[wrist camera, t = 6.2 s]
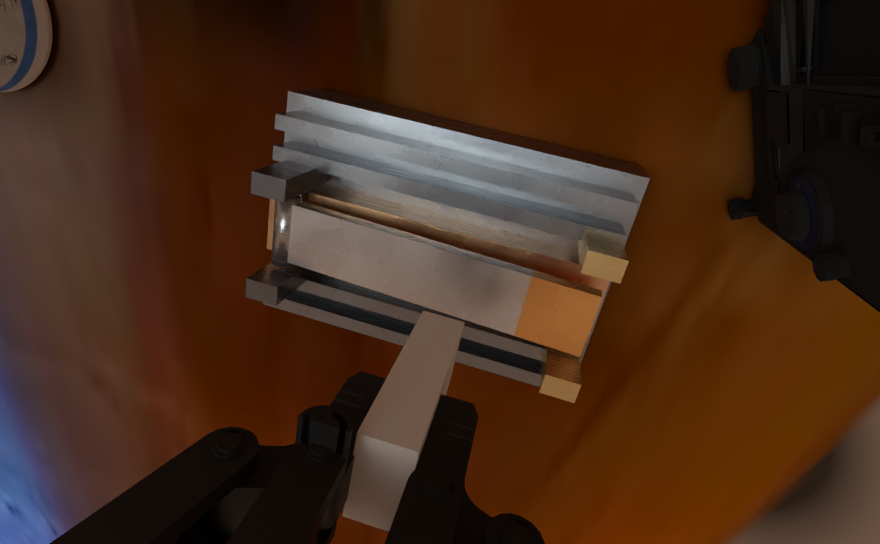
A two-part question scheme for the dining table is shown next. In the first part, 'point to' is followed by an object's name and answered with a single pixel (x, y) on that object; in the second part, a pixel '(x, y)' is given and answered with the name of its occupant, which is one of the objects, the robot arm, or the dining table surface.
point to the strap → (435, 275)
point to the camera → (817, 135)
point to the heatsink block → (447, 216)
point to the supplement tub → (23, 42)
